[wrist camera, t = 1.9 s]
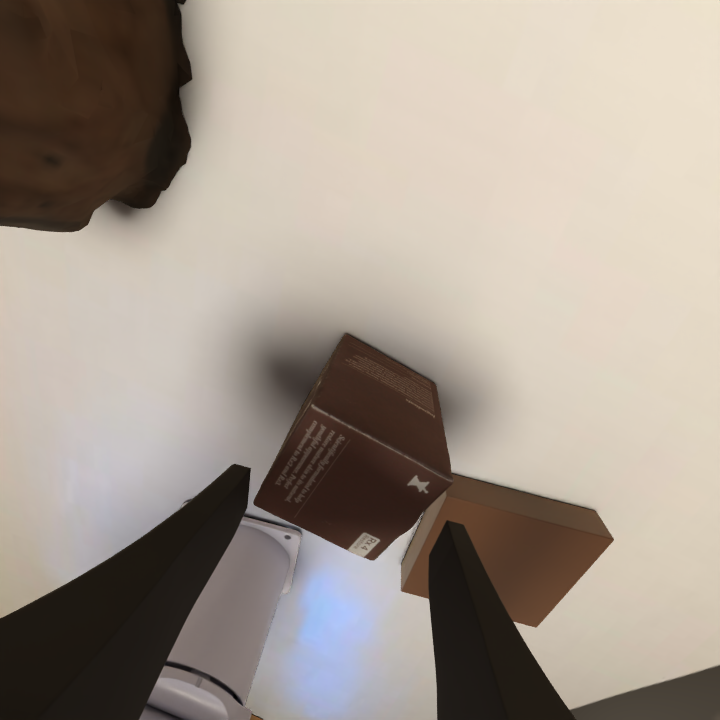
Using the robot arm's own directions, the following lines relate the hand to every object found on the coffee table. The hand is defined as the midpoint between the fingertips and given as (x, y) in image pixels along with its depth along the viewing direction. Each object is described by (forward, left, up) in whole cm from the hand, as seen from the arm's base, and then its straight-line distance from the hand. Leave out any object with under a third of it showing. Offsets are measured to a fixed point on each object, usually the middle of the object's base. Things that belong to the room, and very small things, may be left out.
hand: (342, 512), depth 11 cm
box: (0, 0, -8) cm, 8 cm away
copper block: (+11, -9, -8) cm, 16 cm away
